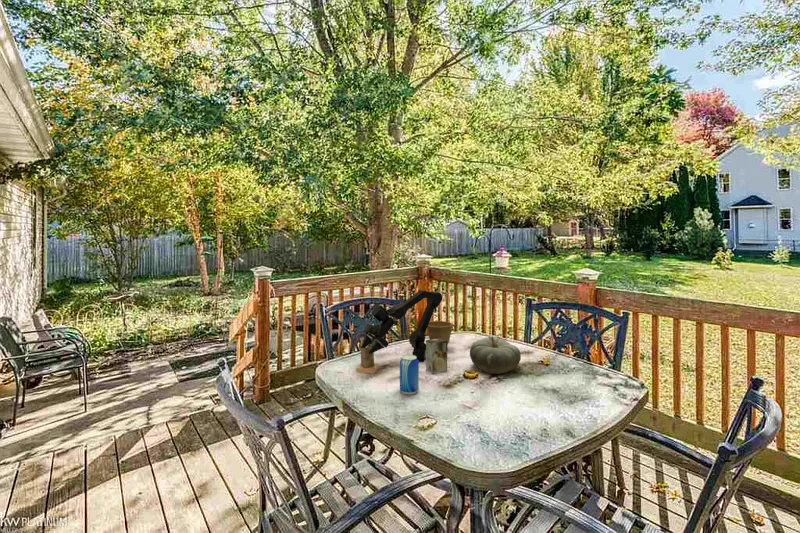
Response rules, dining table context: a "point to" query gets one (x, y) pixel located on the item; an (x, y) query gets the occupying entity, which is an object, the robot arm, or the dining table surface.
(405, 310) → the robot arm
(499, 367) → the gourd
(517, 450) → the dining table surface
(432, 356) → the coffee box
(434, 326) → the plant pot
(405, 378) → the beer can
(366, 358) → the walnut block
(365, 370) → the terracotta tile
